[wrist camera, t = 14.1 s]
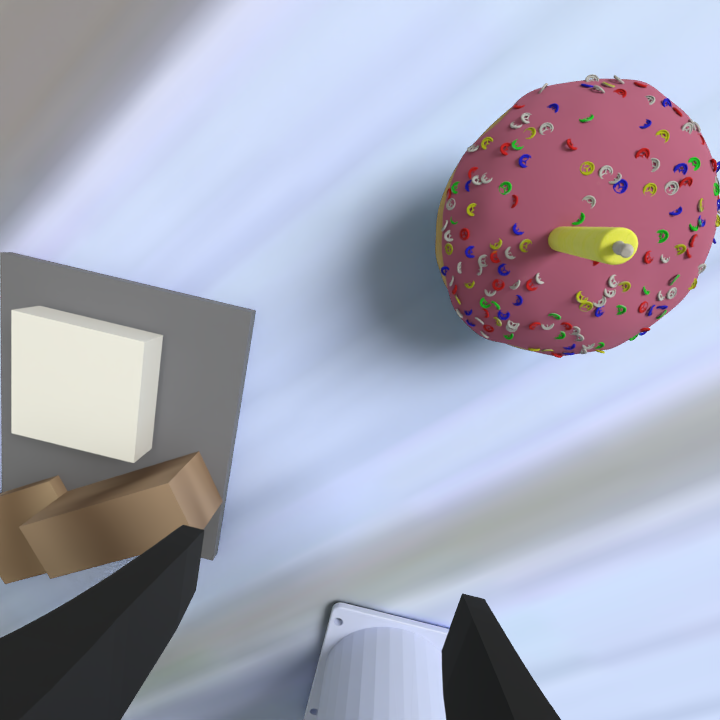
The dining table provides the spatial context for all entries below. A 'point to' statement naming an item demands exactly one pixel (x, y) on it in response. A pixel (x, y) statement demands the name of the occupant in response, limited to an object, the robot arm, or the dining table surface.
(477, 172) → the cupcake
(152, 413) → the block
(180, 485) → the overlapping tan boards
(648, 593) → the dining table surface
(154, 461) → the mat
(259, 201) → the dining table surface
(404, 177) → the dining table surface
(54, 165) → the dining table surface
